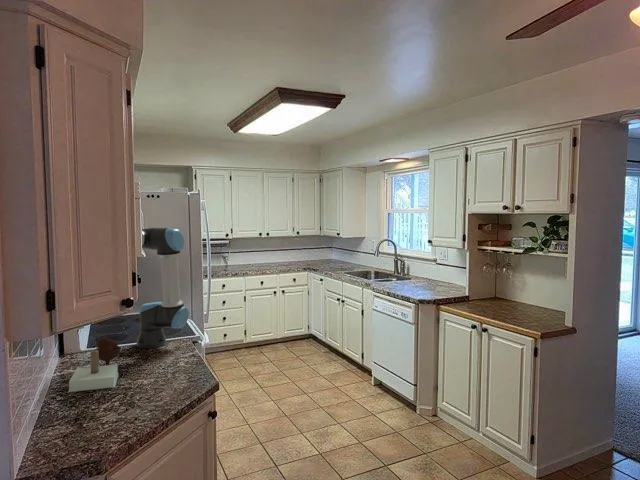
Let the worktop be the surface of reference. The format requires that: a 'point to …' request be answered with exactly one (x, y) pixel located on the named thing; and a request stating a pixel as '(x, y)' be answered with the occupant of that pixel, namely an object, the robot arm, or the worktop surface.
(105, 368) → the white knobbed square piece
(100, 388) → the mat
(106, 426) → the worktop surface
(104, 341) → the ice cream bowl
